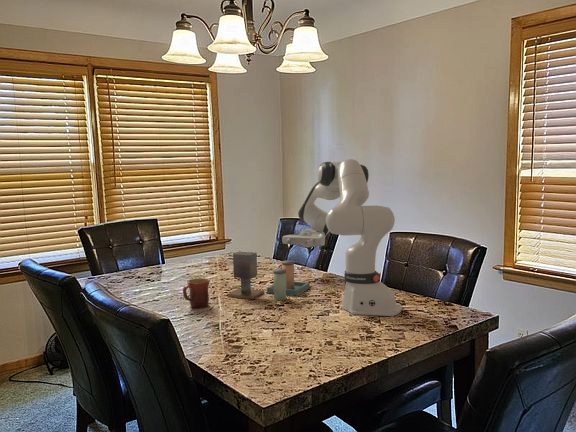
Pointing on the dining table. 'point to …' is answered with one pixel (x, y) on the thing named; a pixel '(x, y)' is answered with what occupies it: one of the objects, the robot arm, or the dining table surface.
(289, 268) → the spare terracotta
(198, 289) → the mug
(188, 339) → the dining table surface
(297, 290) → the tray
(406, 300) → the dining table surface
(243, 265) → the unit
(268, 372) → the dining table surface
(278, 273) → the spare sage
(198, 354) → the dining table surface
